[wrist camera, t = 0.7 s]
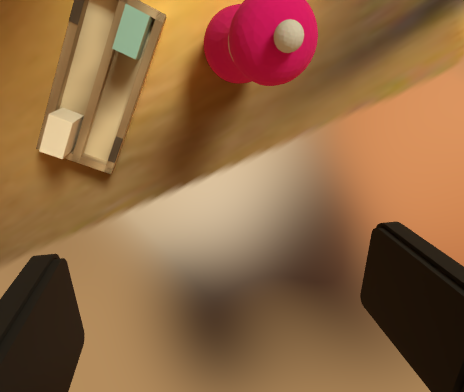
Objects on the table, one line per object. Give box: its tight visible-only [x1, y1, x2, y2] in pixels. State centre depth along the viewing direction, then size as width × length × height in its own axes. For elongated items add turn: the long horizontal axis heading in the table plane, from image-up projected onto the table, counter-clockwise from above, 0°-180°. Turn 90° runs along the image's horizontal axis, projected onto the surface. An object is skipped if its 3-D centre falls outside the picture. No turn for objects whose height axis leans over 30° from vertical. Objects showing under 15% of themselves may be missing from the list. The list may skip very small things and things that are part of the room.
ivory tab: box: [39, 108, 84, 159], centre depth 33 cm, size 2×4×4 cm, turn 155°
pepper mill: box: [204, 0, 318, 86], centre depth 27 cm, size 7×7×20 cm
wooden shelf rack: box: [36, 0, 166, 174], centre depth 34 cm, size 8×18×3 cm, turn 155°
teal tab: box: [112, 4, 152, 59], centre depth 31 cm, size 2×4×4 cm, turn 155°
